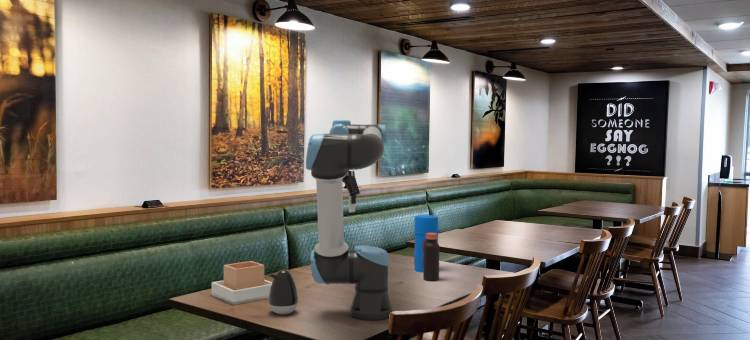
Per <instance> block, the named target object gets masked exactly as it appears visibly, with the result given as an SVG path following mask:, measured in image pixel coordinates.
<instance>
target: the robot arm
mask: <svg viewBox="0 0 750 340" xmlns="http://www.w3.org/2000/svg"><path fill="white" fill-rule="evenodd" d="M331 124H332V126H331V127H330V129H329V133H326V132H324V133H314V134H311V136H310V138H308V139H309V140H308V143H307V144H308V145H307V147H306V148H307V150H306V157H305V169H306V170H308V171H310V172H311V173H310V174H311V177H312V178H313V179H314V180H315V181H316V182H315V183H316V185H315V187H316V207H317V228H318V229H317V232H318V243H316V244H315V246H314V249H312V250H311V252H310V256H309V257H310V270H311V275H312V278H313V280H314V282H315V283H317V284H325V285H334V284H335V285H354V294H353V297H352V300H351V303H350V305H349V315H350V317H352V318H353V317H354V319H355V318H356V319H358V320H359V319H360V320H366V321H367V320H368V321H375V320H377V321H378V320H384V319H388V318H390V317H389V314H390V312H392V311H393V312H394V306H393V303H392V299H391V296H390V294H389V293H390V292H389V265H390V262H389V254H388V251H387V250H385V249H383V248H382V247H378V246H372V245H355V248H354V250H353V249H352V250H351V249H349V245H348V243H347V242H345V236H344V234H345V233H344V230H345V229H344V228H345V227H344V201H343V200H344V199H343V197H344V195H343V190H344V189H343V183H344V185H345V187H346V189H347V191H348V193H349V195H348V213H356V204H357V196H358V195H359V194H361V193H360V189H359V186H358V182H357V179H356V176H355V175H356V173H355V171H357V170H362V169H363V170H364V169H367V168H368V167H371V166H373V165H374V164H376V163H378V161H381V160H380V159H381V158H382V157H383V155H384V153H385V144H387V142H388V127H387V125H386V124H379V123H378V124H352V123H351V121H350V120H349V119H334V120H332V123H331Z"/></svg>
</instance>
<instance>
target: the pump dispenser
mask: <svg viewBox="0 0 750 340" xmlns="http://www.w3.org/2000/svg"><path fill="white" fill-rule="evenodd" d="M269 277H270V278H273V279H272V281H271V282H272V285H271V288H270V294H269V298H268V305H269V307H270V309H271V310H272V312H274V313H276V315H289V314H291V313H293V312H294V311H295V310H296V308H297V305H298V303H299V294H298V288H297V284H296V282H295V279H294V277H293V275H292V274H291V272H290V271H289V270H287V269H280V270H278V271H277V272H276V274H274V273H269Z"/></svg>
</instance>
